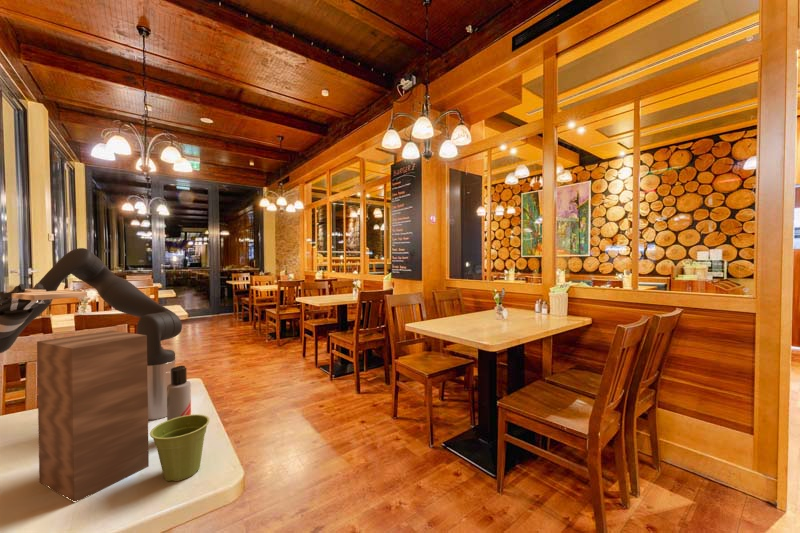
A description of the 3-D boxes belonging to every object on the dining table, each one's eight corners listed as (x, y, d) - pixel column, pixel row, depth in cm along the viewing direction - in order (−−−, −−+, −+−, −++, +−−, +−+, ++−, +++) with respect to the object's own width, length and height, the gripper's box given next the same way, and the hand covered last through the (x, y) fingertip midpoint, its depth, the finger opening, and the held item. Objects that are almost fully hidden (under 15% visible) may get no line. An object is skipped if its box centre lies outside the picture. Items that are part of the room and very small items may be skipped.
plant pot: (188, 454, 88) (187, 411, 88) (221, 464, 83) (220, 418, 83) (138, 481, 77) (137, 432, 77) (173, 495, 73) (172, 442, 72)
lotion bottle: (195, 433, 99) (195, 365, 98) (177, 443, 93) (176, 371, 93) (181, 430, 101) (180, 363, 100) (162, 440, 95) (161, 369, 95)
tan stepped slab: (-4, 296, 91) (-5, 290, 91) (47, 293, 100) (46, 287, 100) (34, 300, 81) (34, 293, 81) (87, 296, 90) (87, 290, 90)
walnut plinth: (39, 482, 77) (36, 341, 77) (112, 451, 90) (111, 330, 89) (74, 503, 70) (72, 348, 70) (148, 466, 83) (146, 335, 83)
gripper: (-31, 306, 94) (-11, 275, 88) (39, 300, 107) (61, 273, 100) (-26, 330, 93) (-4, 301, 86) (45, 322, 105) (68, 296, 99)
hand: (31, 286), depth 93 cm, fingers closed on tan stepped slab, 2 cm apart
